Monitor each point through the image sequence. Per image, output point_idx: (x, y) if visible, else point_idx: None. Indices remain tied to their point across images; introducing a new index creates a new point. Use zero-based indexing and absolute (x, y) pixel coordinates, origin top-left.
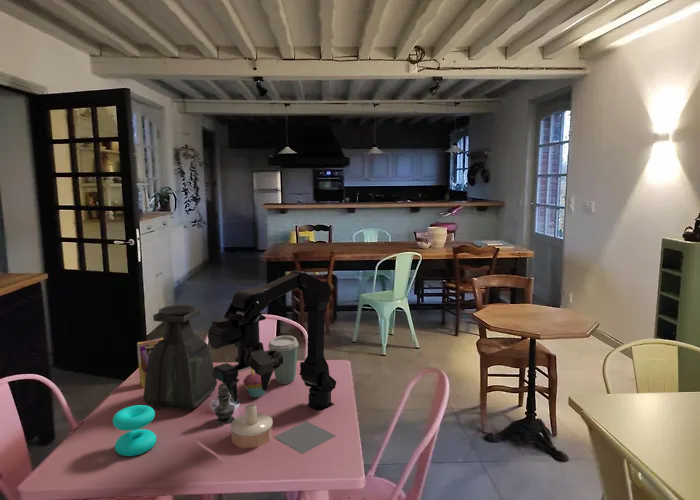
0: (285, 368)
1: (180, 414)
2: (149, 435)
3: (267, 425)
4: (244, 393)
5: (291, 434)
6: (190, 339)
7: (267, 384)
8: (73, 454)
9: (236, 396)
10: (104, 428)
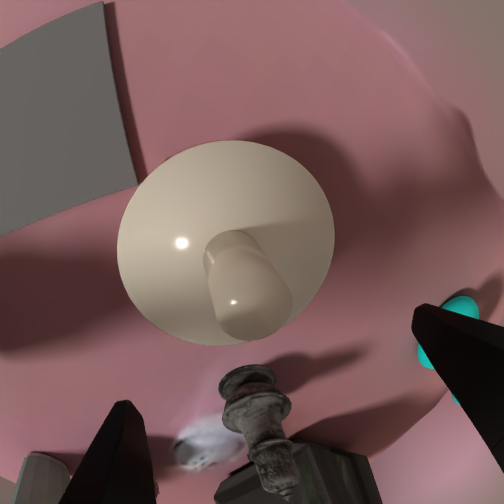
0: (40, 489)
1: (322, 426)
2: None
3: (167, 181)
4: None
5: (61, 165)
6: None
7: (99, 448)
8: None
9: (460, 321)
10: (425, 398)
